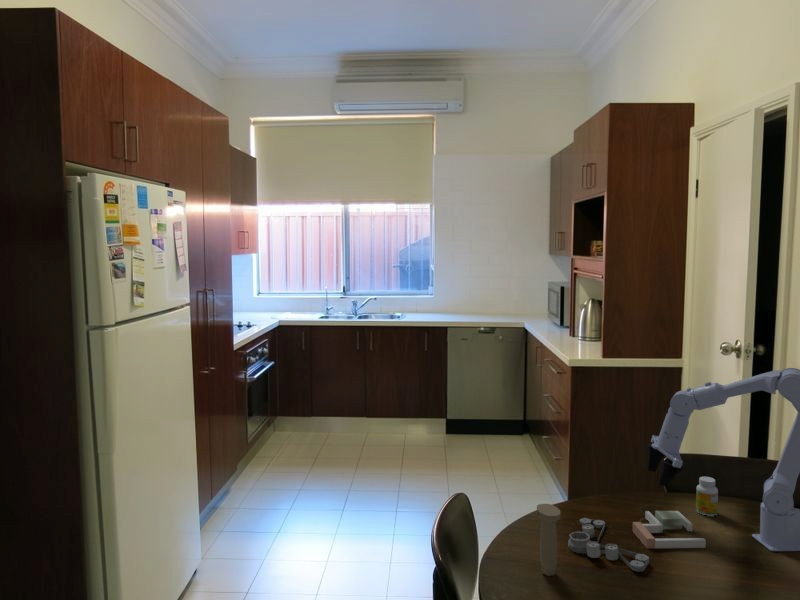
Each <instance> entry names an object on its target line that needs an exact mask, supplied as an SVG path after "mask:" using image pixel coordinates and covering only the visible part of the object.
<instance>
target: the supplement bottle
mask: <svg viewBox="0 0 800 600" xmlns="http://www.w3.org/2000/svg"><path fill="white" fill-rule="evenodd" d="M698 483H699V484H697V486H696V493H695V494H696V496H695V511H696V512H697V513H698V514H699V513H700V514H699V515H701V514H702V515H701V516H704V515H707V516H706V517H715V516H714V515H716V516H718V512H719V511H718V509H719V489H718V487H716V479H715V478H713V477H710V476H700V477H699V480H698Z"/></svg>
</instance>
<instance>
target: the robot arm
mask: <svg viewBox="0 0 800 600" xmlns="http://www.w3.org/2000/svg"><path fill="white" fill-rule="evenodd" d="M760 391H763V392H767V393H769V394H772V395H776V394H777V392H776V391H778V393H779V395H781V396H782V397H783V398H784V399H785V400H787V401H789V402H790V403H791V405H792V406H793V407H794V409H795V411H797V413H796V416H795V419H794V421H793V424H792V427H791V429H790V431H789V434H788V437H787V439H786V441H785V444H784V447H783V449H782V452H781V455H780V457H779V460H778V462H777V464H776V467H775V469H774V470H773V472H772V475H771V476H770V477H768V479H766V480H765V481H764V483H763V494H762V502H760V518H759V519H760V522H759V533H753V534H751V537H752V538H754V539H755V540H756V541H757V542H759V543H760V544H761V545H762V546H763V547H765V548H766V549H768V551H770V552H800V509H799V508H796V507H794V505H795V503H794V498H793V496H794V492H795V490H796V485H797V480H798V478H799V475H800V369H799V368H797V367H786V368H784V369H782V370H780V369H778V370H771V371H767V372H764V373H760V374H757V375H754V376H750V377H747V378H744V379H740V380H737V381H734V382H732V383H731V382H729V383H727V384H720V383H717V382H712V381H707V382H705V383H704V385H702V386H697V387H694V388H691V387H687V388H686V389H685V390H678V391H677V392H675V393H674V395H673V396H672V397H671V399H670V402H669V408H668V410H667V413H666V414H665V418H664V420H663V423H662V426H661V429H660V432H659V435H655V434H652V435H651V439H650V442H651V443H646V450H647V464H646V465H647V466H646V469H647V471H650V472H656V471H657V469H658V468H659V465H660V475H659V479H658V484H659V486H663V487H668V485H669V484H670V483H671V482H672V480H673V479H674V478H675V477H676V476H677V475H678V474H680V472H683V471H684V466H683V462H684V461H683V460H682V458H681V454H680V449H681V447H682V446H681V445H682V443H683V440H684V437H685V435H686V432H687V429H688V427H689V423H690V417H691V416H692V415H691V414H692V413H693V412H694V410H695V411H696V410H697V411H702V410H706V409H709V408H713V407H718V406H721V405H725V404H726V402H727V400H728V398H732V397H738V396H742V395H747V394H751V393H756V392H760ZM664 457H666V458H667V459H668V460H667V459H663V458H664Z"/></svg>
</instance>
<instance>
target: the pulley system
mask: <svg viewBox="0 0 800 600" xmlns="http://www.w3.org/2000/svg"><path fill="white" fill-rule="evenodd" d="M580 523H581V524H582V525H581V524H580ZM579 524H580V525H581V529H582V531H574V532H571V533H570V534H568V536H569V539H568V542H567V547H569V548H570V551H572V552H573V553H575V552H576V554H579V553H583V554H582V555H587V556H588V557H589V558H591V559H597V558H600V556H601V555H605V558H606V559H607V560H609V561H618V560H619V558H620V559H621V560H622V561H623V562H624V563H625V564H626V565H627V566H628V567H629V568H630V569H631V570H632V571H633V572H637V573H639V572H644V570H646V568H647V567H648V566H649V563H650V556H648V555H646V554H645V553H637V552H634V551H630V550H626V549H621V548H619V546H618V545H617V544H616V543H606V544H601V543H599V542H600V540H601V538H600V537H602V535H603V533H604V531H605V529H606V522H605V521H604V520H601V519H592V518H591V519H590V518H587V517H582V518H580V519H579ZM594 526H595V527H596V529H601V528H602V529H601V531H600V533H599V535H598V538H597V541H595V540H591V539H594V538H595V537H596V533H595V527H594ZM593 537H594V538H593ZM590 538H591V539H590ZM569 548H568V549H569ZM603 549H604V550H603ZM584 553H585V554H584ZM622 554H624V555H626V556H631V557H634V559H632V560H631V561H630V562H629V560H627V559H626V558H625V557H624V556H623V555H622Z"/></svg>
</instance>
